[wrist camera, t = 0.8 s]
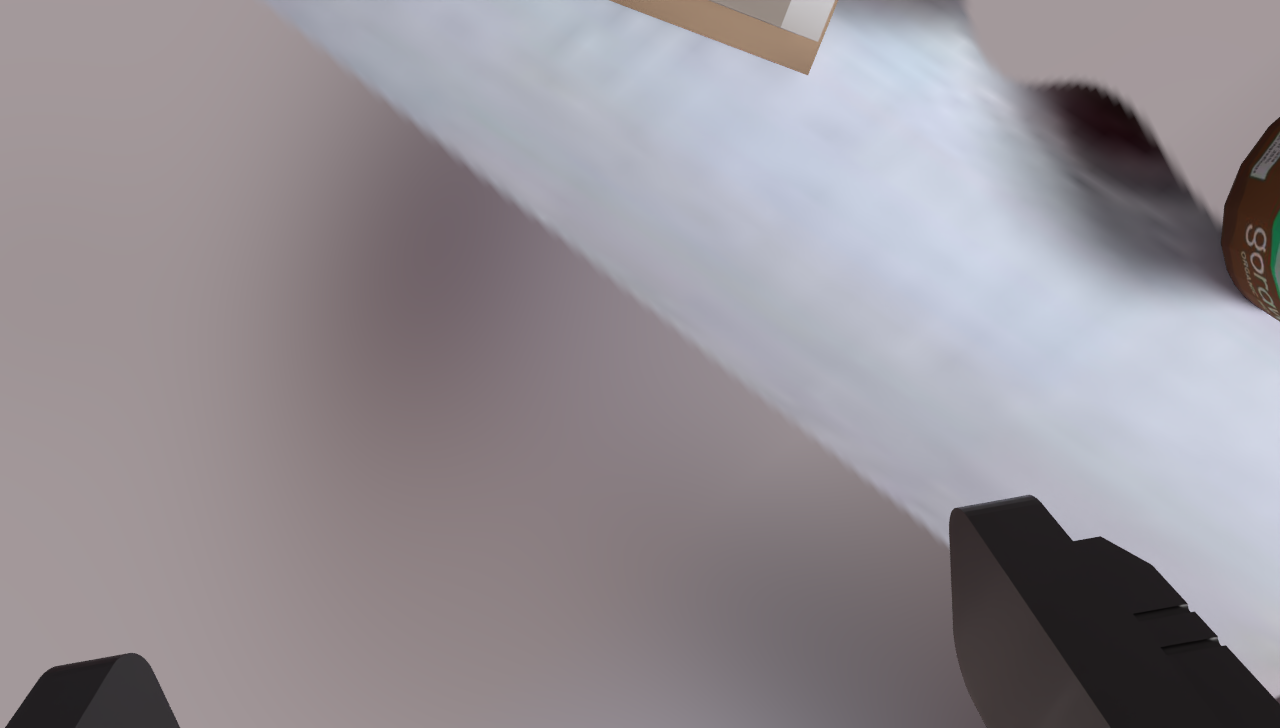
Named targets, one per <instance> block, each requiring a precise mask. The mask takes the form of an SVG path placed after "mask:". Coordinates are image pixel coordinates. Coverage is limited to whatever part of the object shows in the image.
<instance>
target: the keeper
mask: <svg viewBox="0 0 1280 728" xmlns="http://www.w3.org/2000/svg"><path fill="white" fill-rule="evenodd" d="M610 1H613V2H615V3H618V4H621V5H623V6H626V7H629V8H631V9H634V10H637V11H639V12H642V13H645V14H647V15H650V16H652V17H655V18H658V19H660V20H663V21H666V22H668V23H671V24H674V25H676V26H679V27H682V28H684V29H687V30H690V31H692V32H695V33H697V34H700V35H703V36H705V37H708V38H711V39H713V40H716V41H719V42H721V43H724V44H727V45H729V46H732V47H735V48H737V49H740V50H743V51H745V52H748V53H750V54H753V55H756V56H758V57H761V58H764V59H766V60H769V61H772V62H774V63H777V64H780V65H782V66H785V67H788V68H790V69H793V70H795V71H798V72H801V73H803V74H806V75H808V74H809V71H810V69H811V66H812V64H813V61H814V59H815V56H816V54H817V51H818V49H819V46H820V44H821V41H822V39H823V37H824V34H825V32H826V29H827V27H828V24H829V22H830V19H831V17H832V14H833V12H834V9H835V7H836V4H837V2H838V0H610Z"/></svg>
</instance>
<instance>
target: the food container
mask: <svg viewBox="0 0 1280 728" xmlns="http://www.w3.org/2000/svg"><path fill="white" fill-rule="evenodd" d="M1221 246H1222V251H1223V255H1224V260H1225V264H1226V269H1227V271H1228V273H1229V275H1230V277H1231V279H1232V281H1233V283H1234V285H1235V286H1236V287H1237V288H1238V290H1239V291H1240V292H1241V293H1242V295H1243V296H1244V297H1245V298H1247V299H1248V300H1249V301H1250V302H1252V303H1253V304H1254V305H1255V306H1257V307H1258V308H1260V309H1261V310H1263V311H1265V312H1266V313H1268V314H1269V315H1271V316H1272V317H1274V318H1275V319H1277V320H1278V321H1280V117H1279V118H1278V119H1277V120H1276V121H1275V122H1274V123H1272V124H1271V125H1270V126H1269V127H1268V129H1267V130H1266V131H1265V133H1264V134H1263V135H1262V137H1261V138H1260V139H1259V141H1258V142H1257V144H1256V145H1255V146H1254V148H1253V149H1252V150H1251V152H1250V153H1249V154H1248V156H1247V157H1246V159H1245V160H1244V161H1243V163H1242V164H1241V166H1240V169H1239V171H1238V173H1237V176H1236V178H1235V181H1234V183H1233V185H1232V188H1231V191H1230V193H1229V195H1228V198H1227V200H1226V203H1225V206H1224V216H1223V226H1222V236H1221Z"/></svg>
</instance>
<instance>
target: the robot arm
mask: <svg viewBox="0 0 1280 728" xmlns="http://www.w3.org/2000/svg"><path fill="white" fill-rule="evenodd" d="M949 537H950V560H951V561H950V562H951V587H952V611H953V633H954V642H955V648H956V653H957V658H958V661H959V665H960V669H961V673H962V676H963V679H964V682H965V685H966V687H967V689H968V692H969V694H970V696H971V699H972V700H973V702H974V705H975V706H976V708H977V710H978V712H979V714H980V716H981V718H982V720H983V722H984V724H985V725H986V727H987V728H1280V704H1279V703H1278V702H1277V701H1276V700H1275V699H1274V698H1273V696H1272V695H1271V694H1270V693H1269V692H1268V691H1267V690H1266V689H1265V688H1264V687H1263V686H1262V684H1261V683H1260V682H1259V681H1258V680H1257V679H1256V678H1255V677H1254V676H1253V675H1252V674H1251V672H1250V671H1249V670H1248V669H1247V668H1246V667H1245V666H1244V665H1243V664H1242V663H1241V662H1240V660H1239V659H1238V658H1237V657H1236V656H1235V655H1234V654H1233V653H1232V652H1231V651H1230V650H1229V648H1228V647H1227V646H1226V645H1225V646H1221V645H1220V644H1219V641H1218V636H1217V635H1216V634H1215V633H1214V632H1213V631H1212V630H1211V629H1210V628H1209V627H1208V626H1207V624H1206V623H1205V622H1204V621H1203V620H1202V619H1201V618H1200V617H1199V616H1198V615H1197V614H1196V612H1190V611H1189V609H1188V604H1187V603H1186V602H1185V600H1184V599H1183V598H1182V597H1181V596H1180V595H1179V594H1178V593H1177V592H1176V591H1175V590H1174V588H1173V587H1172V586H1171V585H1170V584H1169V583H1168V582H1167V581H1166V580H1165V579H1164V578H1163V576H1162V575H1161V574H1160V573H1159V572H1158V571H1157V570H1156V569H1155V568H1154V567H1153V566H1152V565H1151V564H1149V563H1147V562H1146V561H1144V560H1142V559H1140V558H1138V557H1137V556H1135V555H1133V554H1131V553H1129V552H1128V551H1126V550H1124V549H1122V548H1120V547H1119V546H1117V545H1115V544H1113V543H1111V542H1110V541H1108V540H1106V539H1104V538H1102V537H1101V536H1100V537H1095V538H1089V539H1083V540H1078V541H1072V540H1071V538H1070V537H1069V536H1068V535H1067V533H1066V532H1065V531H1064V530H1063V529H1062V527H1061V526H1060V525H1059V524H1058V523H1057V521H1056V520H1055V519H1054V518H1053V517H1052V515H1051V514H1050V513H1049V512H1048V510H1047V509H1046V508H1045V507H1044V506H1043V504H1042V503H1041V502H1040V501H1039V500H1038V499H1037V498H1035V497H1034V496H1032V495H1026V496H1020V497H1015V498H1009V499H1003V500H998V501H992V502H987V503H981V504H975V505H970V506H964V507H959V508H954V509H953V510H952V512H951V515H950V522H949ZM5 728H180V727H179V725H178V722H177V720H176V718H175V716H174V714H173V712H172V710H171V708H170V706H169V703H168V701H167V699H166V697H165V695H164V693H163V691H162V689H161V687H160V684H159V682H158V680H157V678H156V676H155V674H154V672H153V670H152V668H151V666H150V665H149V663H148V662H147V661H146V660H145V659H144V658H143V657H142V656H140V655H138V654H135V653H128V654H123V655H117V656H111V657H106V658H100V659H95V660H89V661H83V662H77V663H72V664H66V665H61V666H55V667H53V668H51V669H49V670H47V671H46V672H45V673H44V674H43V675H42V676H41V677H40V679H39V680H38V681H37V683H36V684H35V686H34V687H33V688H32V690H31V691H30V693H29V694H28V696H27V697H26V699H25V700H24V701H23V703H22V704H21V706H20V707H19V709H18V710H17V711H16V713H15V714H14V716H13V717H12V718H11V720H10V721H9V723H8V724H7V726H6V727H5Z"/></svg>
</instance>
